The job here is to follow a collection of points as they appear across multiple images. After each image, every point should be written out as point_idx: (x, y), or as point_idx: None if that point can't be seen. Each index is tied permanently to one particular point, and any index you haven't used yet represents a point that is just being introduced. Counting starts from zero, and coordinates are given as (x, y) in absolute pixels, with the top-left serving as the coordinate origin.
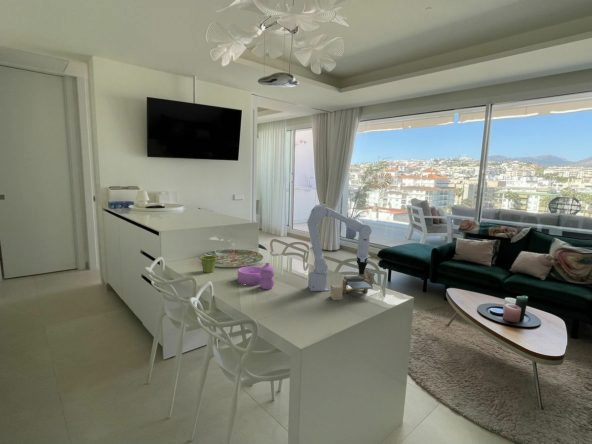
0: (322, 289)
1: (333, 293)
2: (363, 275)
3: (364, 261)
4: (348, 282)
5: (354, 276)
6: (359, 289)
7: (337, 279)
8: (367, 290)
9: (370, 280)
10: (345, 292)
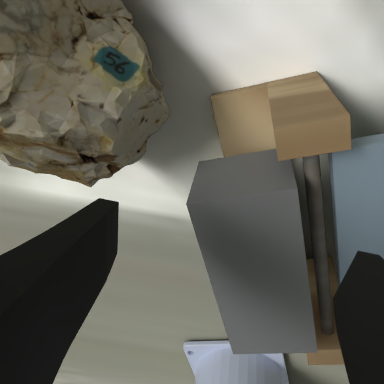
0: (280, 371)
1: None
2: (114, 143)
3: (3, 349)
4: None
5: (226, 273)
6: (261, 148)
7: (5, 250)
8: (321, 79)
9: (79, 3)
10: (332, 264)
